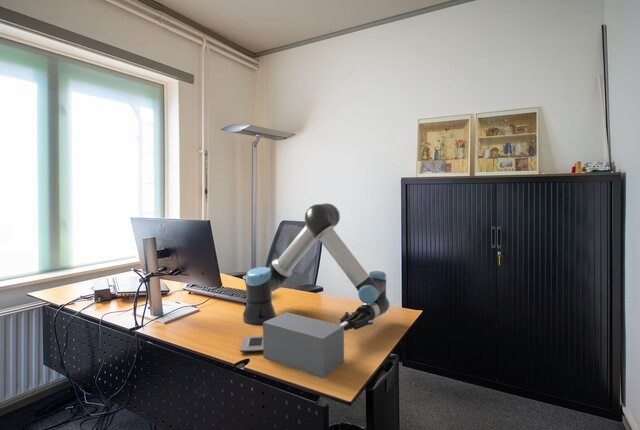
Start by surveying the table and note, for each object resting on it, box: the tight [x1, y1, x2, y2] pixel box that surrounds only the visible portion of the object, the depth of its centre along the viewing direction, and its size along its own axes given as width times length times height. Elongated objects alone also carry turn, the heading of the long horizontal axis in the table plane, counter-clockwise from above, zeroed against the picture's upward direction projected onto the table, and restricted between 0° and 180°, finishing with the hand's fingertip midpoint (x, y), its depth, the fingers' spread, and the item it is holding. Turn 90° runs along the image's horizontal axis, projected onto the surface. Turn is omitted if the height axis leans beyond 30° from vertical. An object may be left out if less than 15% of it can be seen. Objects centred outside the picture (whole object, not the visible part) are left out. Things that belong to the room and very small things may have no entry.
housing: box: [262, 311, 345, 379], centre depth 127 cm, size 13×26×13 cm, turn 55°
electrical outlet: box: [239, 334, 264, 353], centre depth 139 cm, size 13×10×2 cm
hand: (337, 330), depth 133 cm, fingers closed
